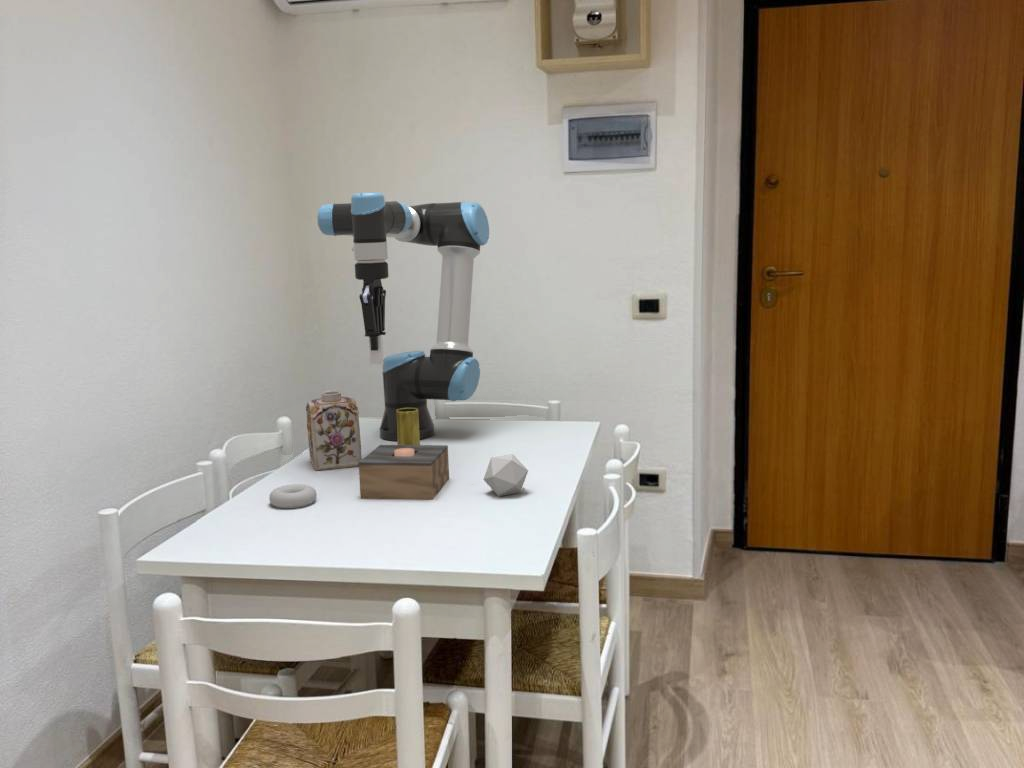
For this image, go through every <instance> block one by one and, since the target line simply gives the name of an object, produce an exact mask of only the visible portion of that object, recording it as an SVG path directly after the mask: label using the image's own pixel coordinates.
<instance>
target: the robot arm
mask: <svg viewBox="0 0 1024 768" xmlns="http://www.w3.org/2000/svg"><path fill="white" fill-rule="evenodd" d="M350 200H351V201H350V203H349V202H347V203H328V204H323V205H322V206H321V207H320V208H319V210H317V211H318V212H317V225H318V228H319V230H320V231H321V233H322V234H323V235H325V236H333V237H337V236H349V237H351V236H352V238H353V240H352V241H353V247H351V250H352V252H353V256H354V260H355V261H357V262H356V263H355V264H354V274H355V275H354V277H355V279H356V280H359V281H363V282H362V283H363V285H362V289H361V294H359V301H360V304H361V310H362V311H361V313H362V318H363V326H364V333H365V334H364V337H368V345H369V361H370V362H369V363H370V365H382V372H381V374H382V380H383V381H382V383H383V384H382V385H383V396H384V397H383V398H384V412H383V415H382V419H381V423H380V426H379V437H380V438H381V439H382V440H385V441H394V442H395V441H396V442H397V416H396V410H397V409H400V408H417V409H418V412H419V433H420V440H422V439H423V440H424V439H427V438H430V437H433V436H434V435H435V434H436V433H435V431H436V430H435V425H434V421H433V419H432V417H431V413H430V411H429V409H428V400H434V401H435V400H436V401H437V400H439V401H450V402H457V401H467V400H469V399H470V398H471V397H472V396H473V395H474V394H475V392H476V391H477V389H478V386H479V382H480V378H481V377H480V376H481V369H480V363H479V360H478V359H477V358H475V357H474V350H472V349H471V348H470V347H469V334H470V322H471V321H470V320H471V305H472V291H473V279H474V278H473V277H474V274H473V273H474V260H475V258H476V257H477V256H479V255H480V253H481V246H485V245H486V244H487V243H488V241H489V238H490V226H489V225H490V224H489V220H488V216H487V214H486V211H485V209H484V207H482V205H481V204H480V203H478V202H475V201H472V202H470V201H459V202H458V201H457V202H456V201H455V202H438V203H437V202H431V203H423V204H422V203H421V204H418V205H410V206H409V205H407V204H405V203H403V202H401V201H396V200H394V201H385V196H384V194H383V193H382V192H356V193H354V194H352V195H351V199H350ZM387 238H393V239H395V240H396V241H399V242H403V243H411V244H417V245H422V246H431V247H432V246H433V247H435V246H436V247H437V249H436V250H437V252H438V253H439V254H440V256H441V258H442V259H441V270H440V271H441V274H440V287H439V289H440V290H439V301H438V314H437V315H438V317H437V331H436V332H437V334H436V343H435V344H434V345H433V346H432V347H431V348H430V351H429V356H426V353H425V351H424V350H411V351H404V352H400V353H394V354H390V355H387V356H386V357H384V347H383V336H386V334H387V332H386V331H385V330H386V328H385V327H386V326H385V325H386V324H385V323H386V319H385V318H386V295H387V291H386V289H384V287H383V285H382V280H384V279H388V278H389V276H390V274H389V263H388V262H386V260H388V258H389V257H388V255H389V254H388V243H387Z"/></svg>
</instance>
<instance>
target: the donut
mask: <svg viewBox="0 0 1024 768" xmlns="http://www.w3.org/2000/svg"><path fill="white" fill-rule="evenodd" d="M317 496H318V495H317V490H316V489H315V488H314V487H313V486H311V485H307V484H301V483H299V484H296V483H295V484H286V485H282V486H279V487H276V488H274V489H273V490H272V491H271V492H270V494H269V497H268V498H269V503H270V504H271V505H272V506H273V507H275V508H278V509H298V508H304V507H307V506H309V505H311V504H313V503H314V502H315V501H316V500H317Z"/></svg>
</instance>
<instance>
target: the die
mask: <svg viewBox="0 0 1024 768" xmlns="http://www.w3.org/2000/svg"><path fill="white" fill-rule="evenodd" d="M528 472H529V469H528V468H527V467H526V466H525V465H524V464H523V463H522V462H521V461H520V460H519V459H518V457H516V455H515V454H513V453H512V454H511V453H510V454H504V455H498V456H491V457H490V460H489V462H488V466H487V468H486V471H485V473H484V476H483V481H484V482H485V483H486V484H487V485H488V486H489V487H490V489H491V490H492V491H493V492H494V493H495V494H496V495H497V497H502V496H508V495H513V494H515V495H516V494H519V492H520V493H521V491H522V489H523V487H524V484H525V481H526V478H527V475H528Z"/></svg>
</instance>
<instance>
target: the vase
mask: <svg viewBox="0 0 1024 768" xmlns="http://www.w3.org/2000/svg"><path fill="white" fill-rule="evenodd" d="M396 416H397V441H396V445H421V439H420V433H419V412H418V409H417V408H400V409H397V410H396Z"/></svg>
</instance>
